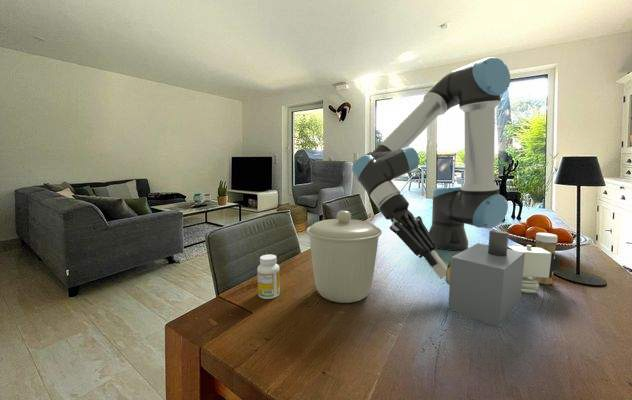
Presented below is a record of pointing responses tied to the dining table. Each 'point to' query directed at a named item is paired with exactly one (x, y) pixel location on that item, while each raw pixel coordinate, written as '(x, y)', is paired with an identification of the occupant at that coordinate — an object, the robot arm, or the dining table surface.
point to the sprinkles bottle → (549, 244)
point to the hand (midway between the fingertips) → (445, 275)
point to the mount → (486, 283)
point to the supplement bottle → (268, 277)
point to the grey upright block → (498, 243)
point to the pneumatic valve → (536, 266)
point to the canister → (343, 257)
